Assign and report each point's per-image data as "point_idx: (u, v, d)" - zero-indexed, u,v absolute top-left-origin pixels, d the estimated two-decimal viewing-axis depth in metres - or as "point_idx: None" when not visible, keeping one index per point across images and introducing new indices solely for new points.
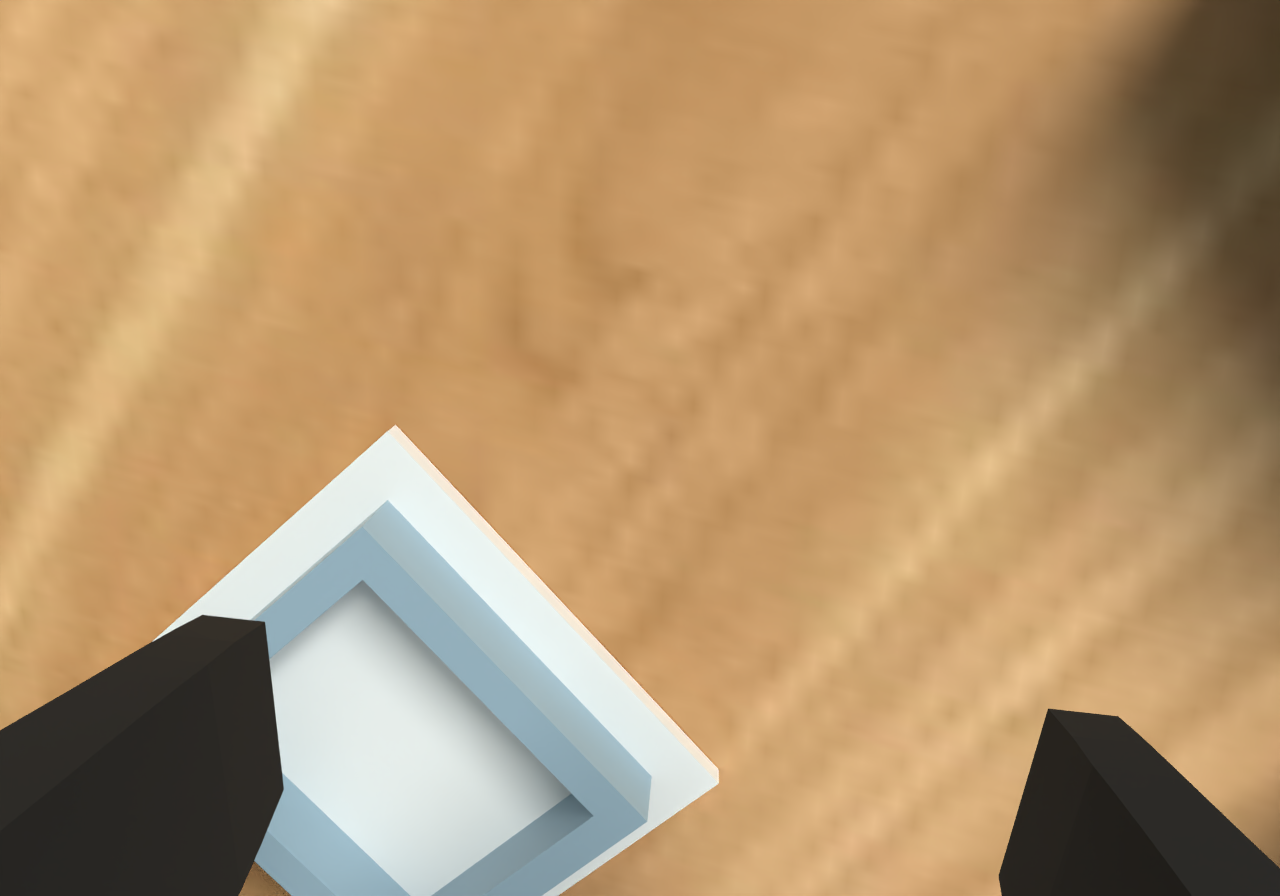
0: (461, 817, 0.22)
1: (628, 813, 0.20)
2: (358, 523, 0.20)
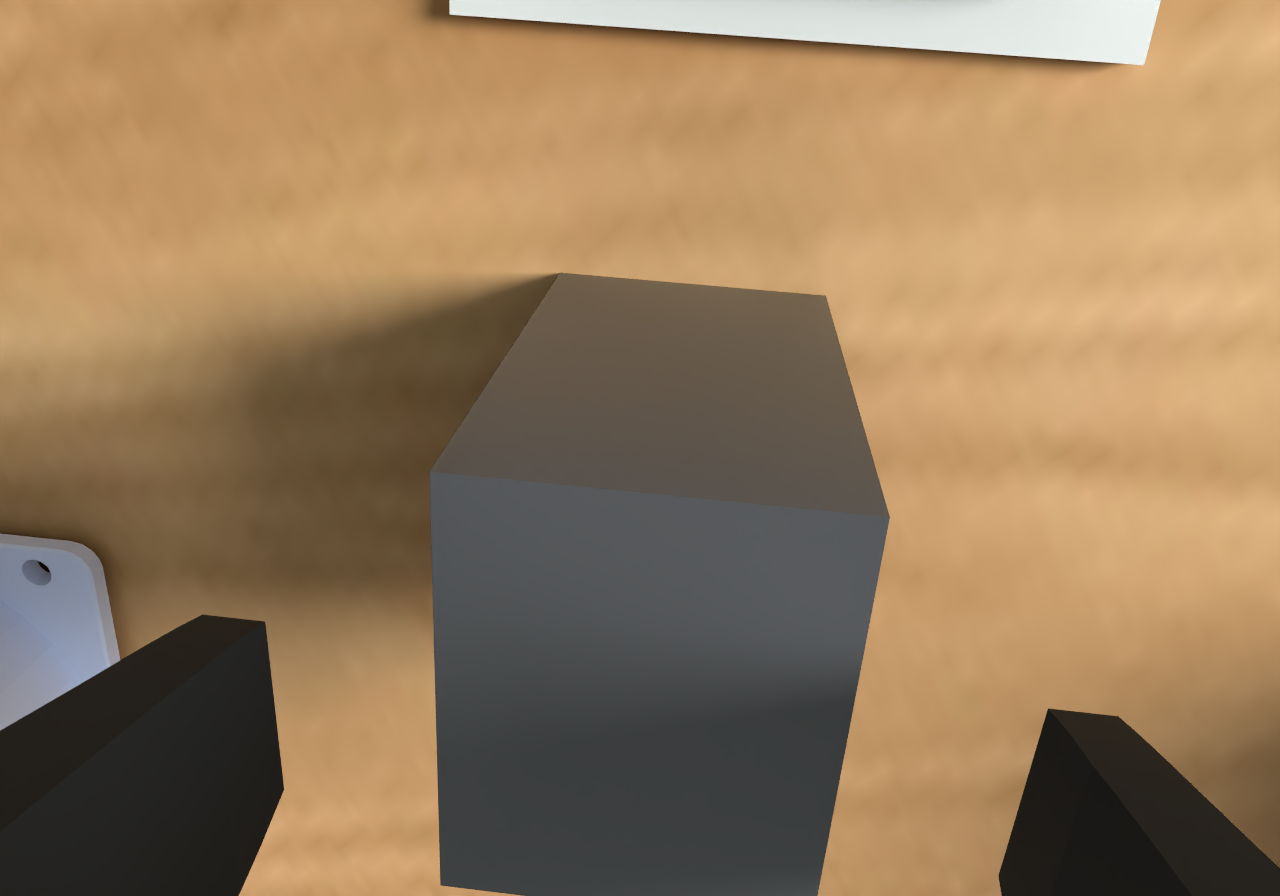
0: None
1: None
2: None
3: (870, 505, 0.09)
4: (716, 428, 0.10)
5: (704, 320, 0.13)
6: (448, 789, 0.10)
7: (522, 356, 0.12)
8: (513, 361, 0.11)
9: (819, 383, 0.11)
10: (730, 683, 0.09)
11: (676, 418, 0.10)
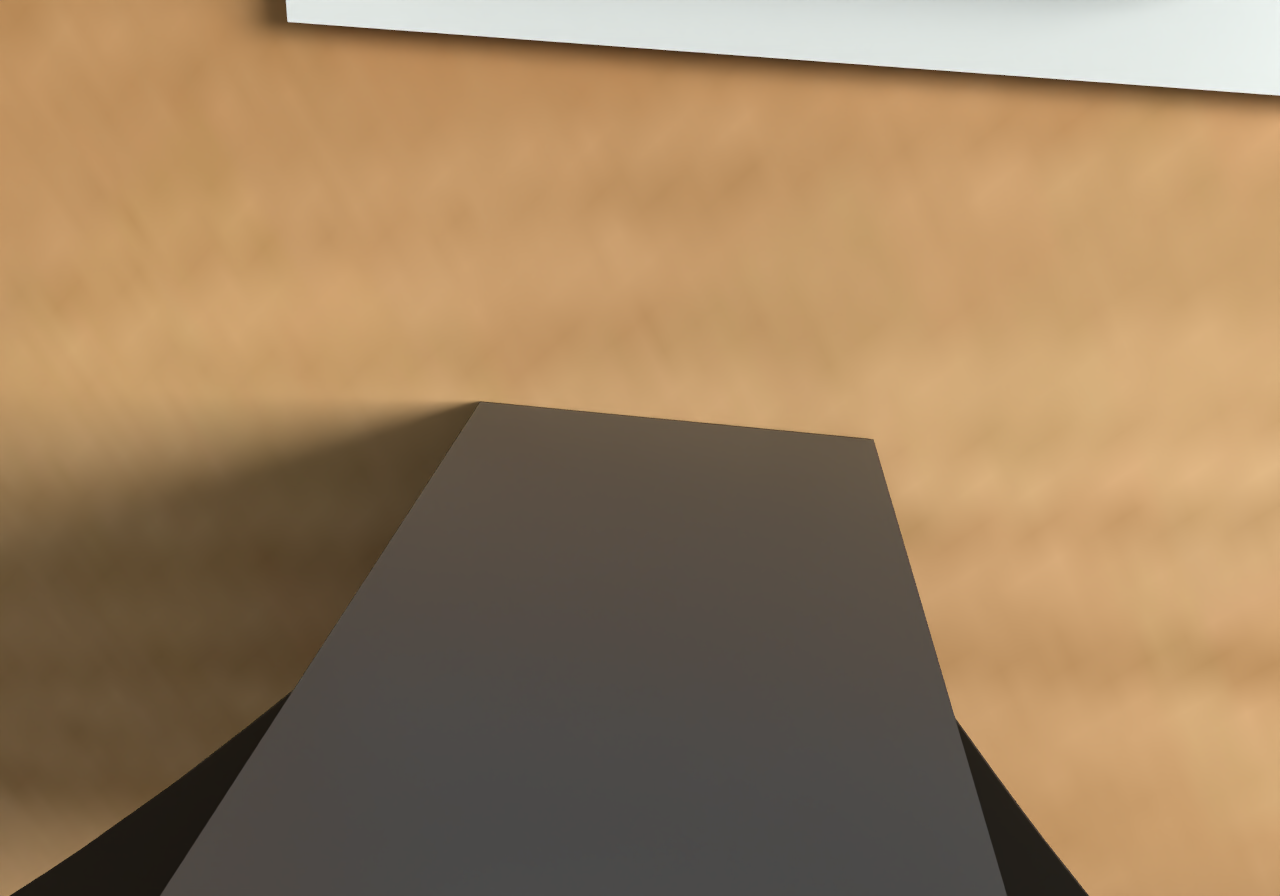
0: None
1: None
2: None
3: None
4: (700, 837, 0.05)
5: (690, 505, 0.08)
6: None
7: (371, 616, 0.07)
8: (351, 631, 0.07)
9: (886, 669, 0.07)
10: None
11: (624, 804, 0.05)
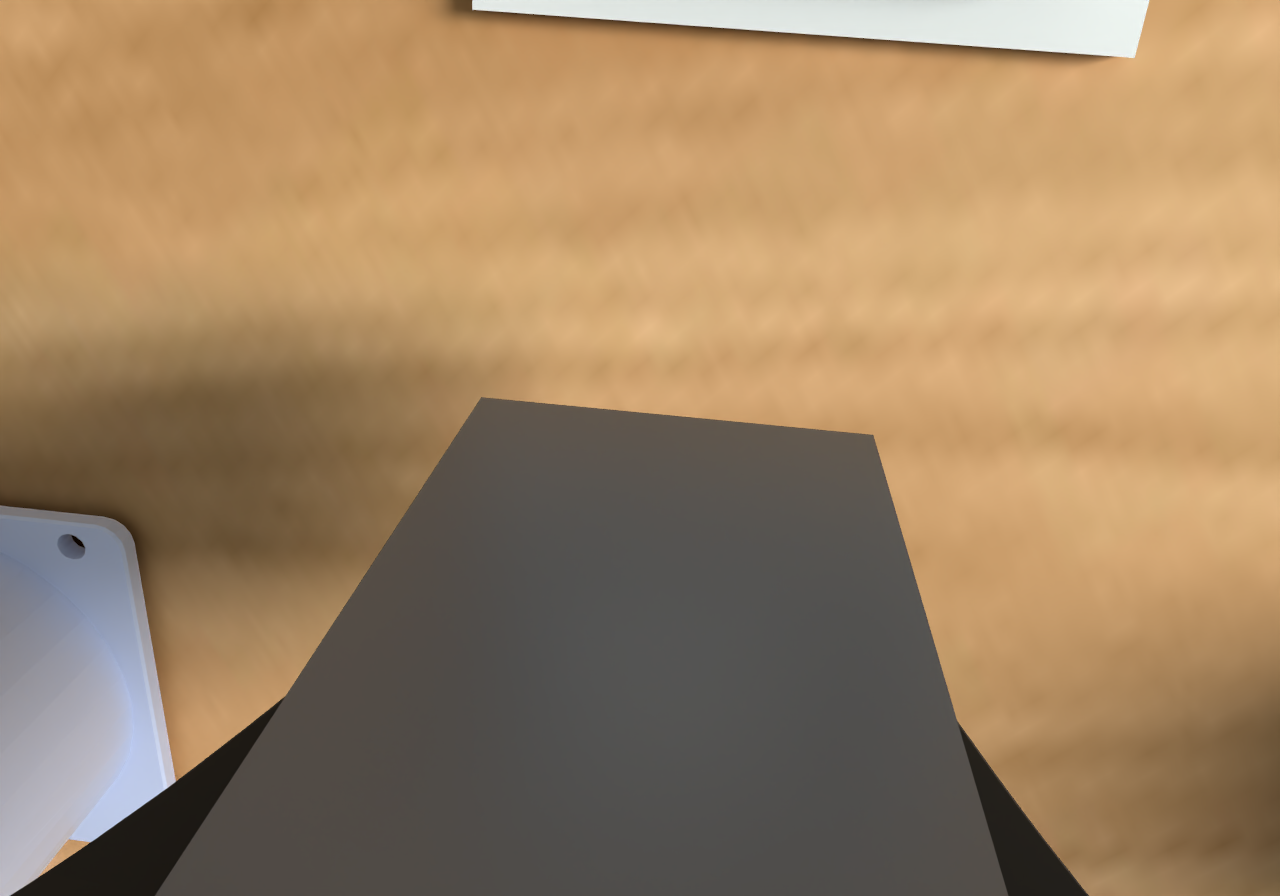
0: None
1: None
2: None
3: None
4: (699, 825, 0.05)
5: (690, 499, 0.08)
6: None
7: (372, 608, 0.07)
8: (353, 623, 0.07)
9: (884, 662, 0.07)
10: None
11: (625, 792, 0.05)
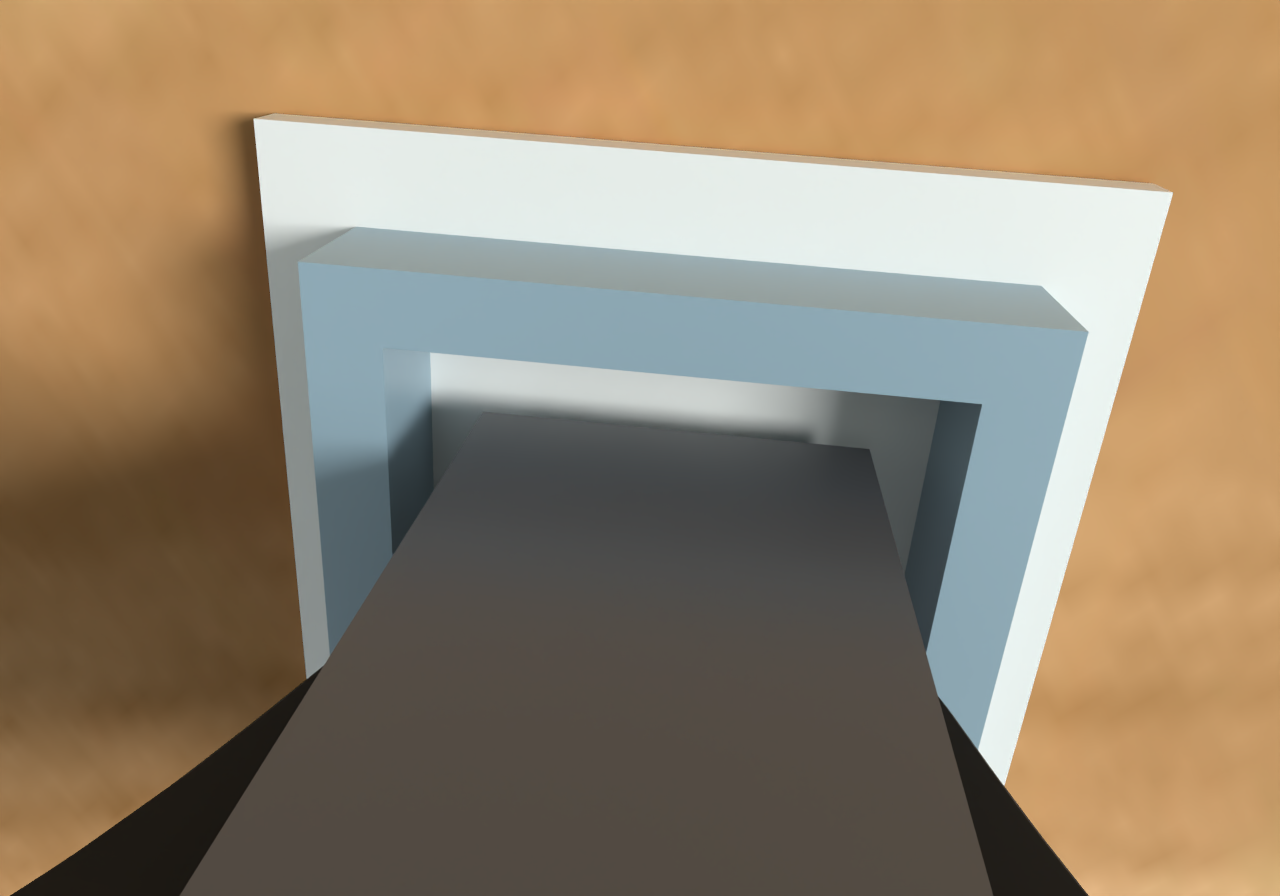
0: None
1: None
2: (957, 275, 0.10)
3: None
4: (697, 840, 0.05)
5: (689, 515, 0.09)
6: None
7: (378, 625, 0.07)
8: (359, 640, 0.07)
9: (879, 678, 0.07)
10: None
11: (625, 809, 0.05)
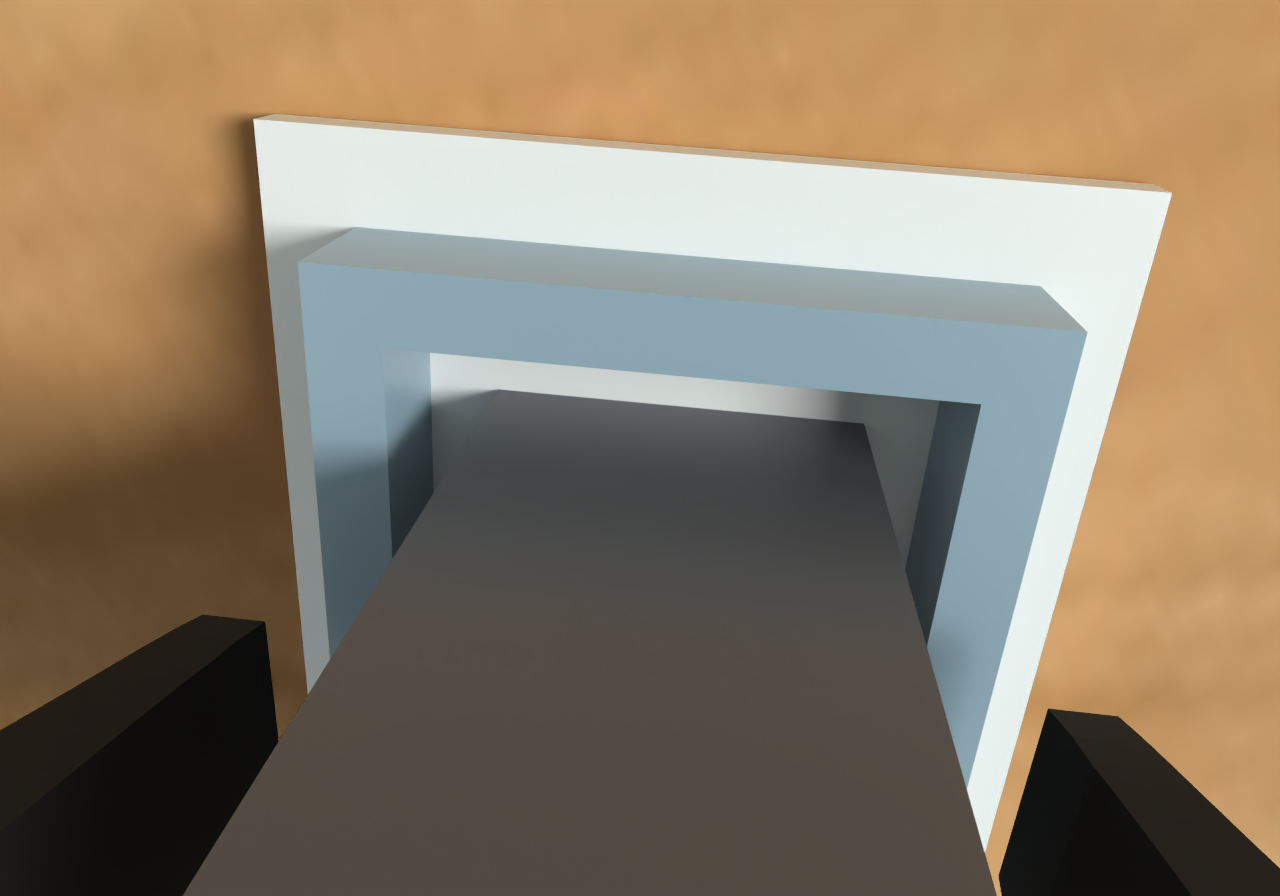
0: None
1: None
2: (956, 275, 0.10)
3: None
4: (705, 756, 0.06)
5: (694, 481, 0.09)
6: None
7: (408, 576, 0.07)
8: (391, 589, 0.07)
9: (871, 624, 0.07)
10: None
11: (638, 732, 0.06)
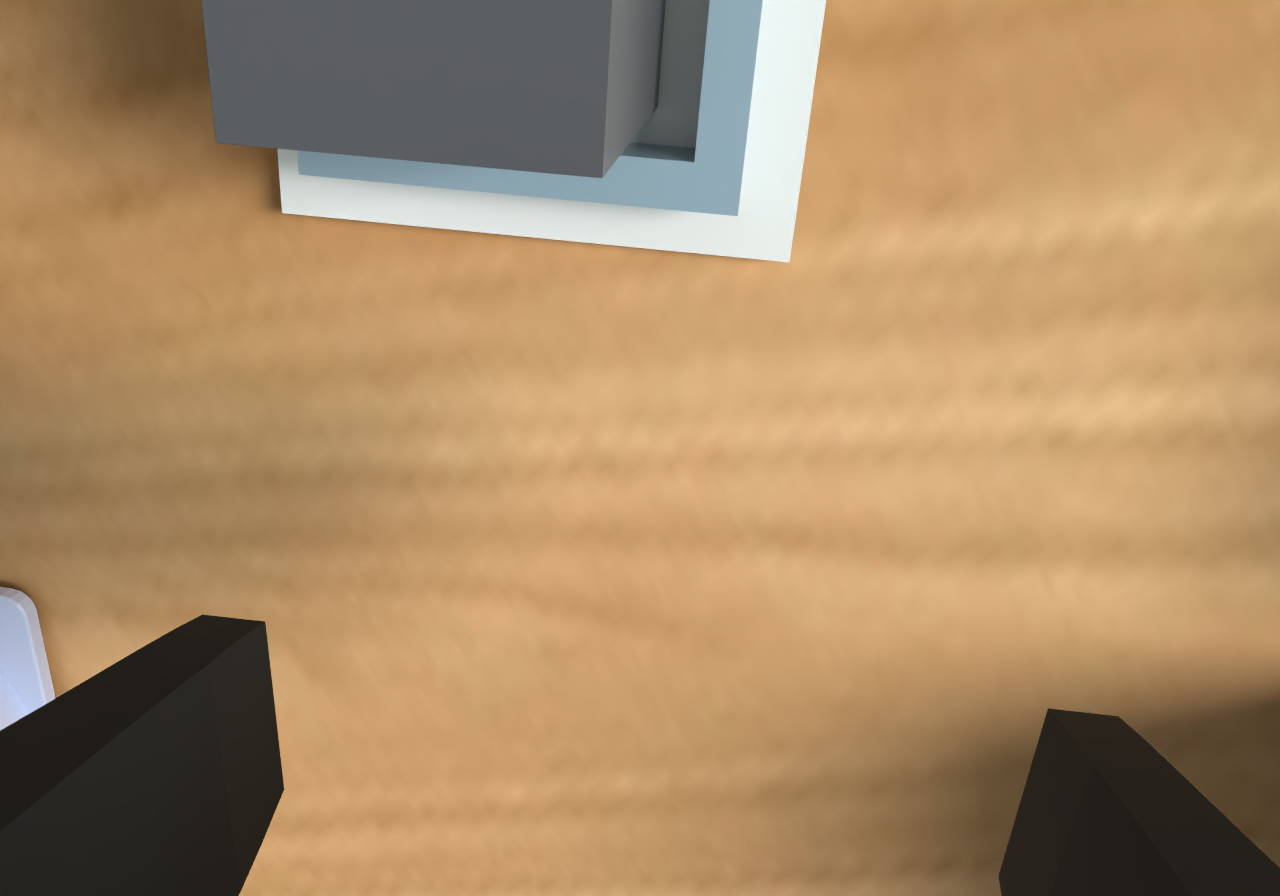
0: None
1: (729, 191, 0.15)
2: None
3: None
4: None
5: None
6: None
7: None
8: None
9: None
10: None
11: None
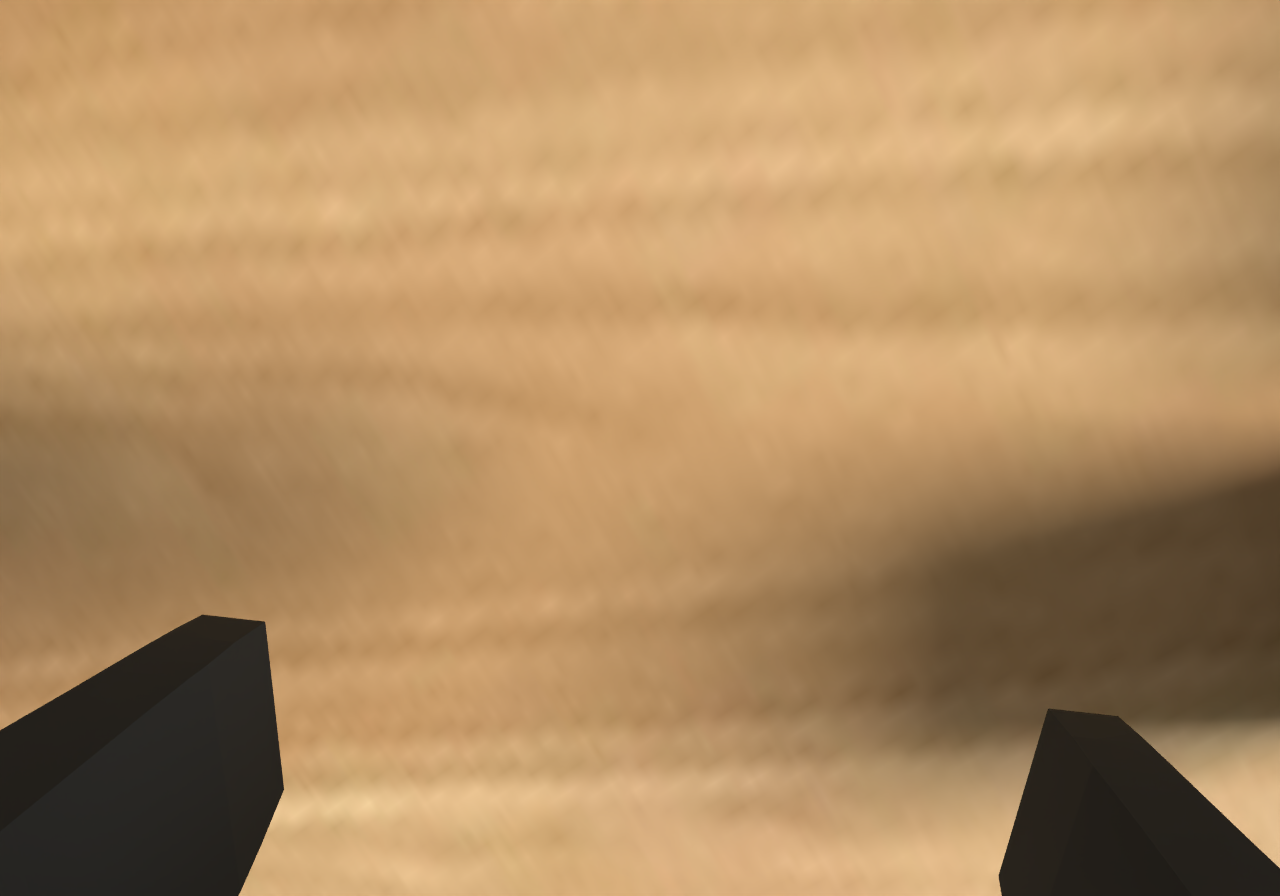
0: None
1: None
2: None
3: None
4: None
5: None
6: None
7: None
8: None
9: None
10: None
11: None
